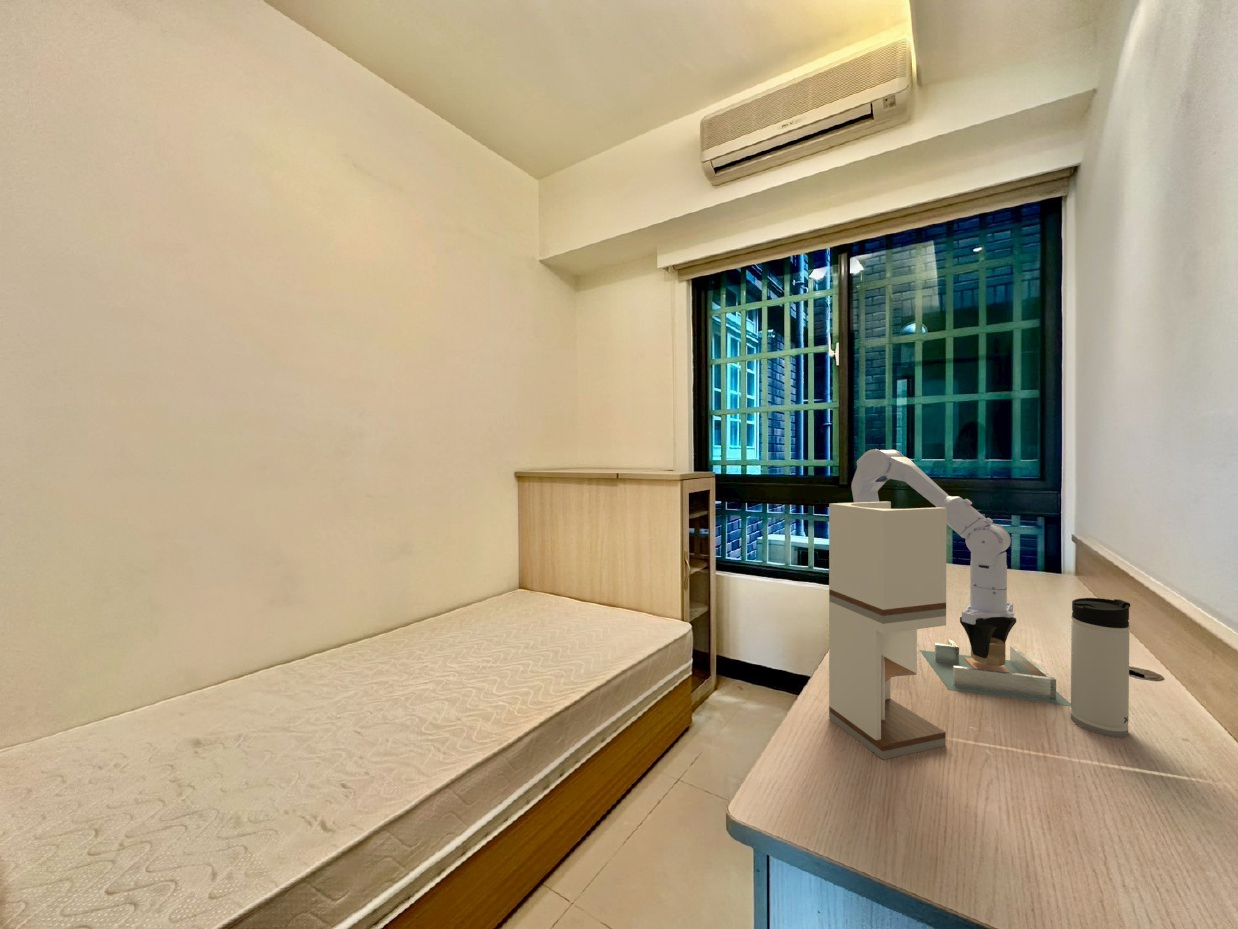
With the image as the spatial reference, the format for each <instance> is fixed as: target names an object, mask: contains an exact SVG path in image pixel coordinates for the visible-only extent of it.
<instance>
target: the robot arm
mask: <svg viewBox="0 0 1238 929" xmlns="http://www.w3.org/2000/svg"><path fill="white" fill-rule="evenodd" d="M856 466H857V467H856V471H855V473H854V475H853V479H852V481H851V492H852V493H851V494H852V498H853V503H859V502H880V498H879V493H878V492H879V490H880V489H881V488H882V487H883V485H885V483H886V482H887V481H889V480H895V481H900V482H904V483H906V484H907V485H908V486H910V487H911V488H912V489H914V490H915V491H916V492H917V493H918V494H920V495H921V496H922V497H923V498H925V499H926V500H927V501H929V503H930V504H932V505H933V506H935V508H937V507H942V508H947V526H948V527H950V528H951V530H953V531H954V532H955V533H956V534H958V536H960V537H961V538H963V539H965V541H964V542H965V544H966V545H965V546H966V547H967V548H968V550H969V551H970V568H969V569H970V570H969V571H970V572H969V573H970V574H969V575H970V578H969V580H970V584H969V590H970V591H969V592H970V594H969V597H970V598H969V600H970V601H969V604H968V605H967V607H966V608H965V610H964V611H961V617H959V623H960V624H961V626H962V627H963V629H964V631H965V633H966V635H967V637H968V641H969V645H970V649H971V648H972V652H973V655H976V656H979V657H982V658H987V656H988V652H989V645H990V640H991V637H993V638H997V639H1000V640H1002V641H1003V642H1004V643H1005V644H1006V642H1007V639H1008V636H1009V634H1010V632H1011V630H1012V628H1014V626H1015V624H1017V618H1016V617H1015V613H1014V604H1013V603H1010V602H1008V600H1007V599H1008V596H1007V595H1008V594H1007V593H1008V565H1007V552H1006V550H1007V549H1009V547H1010V546H1011V542H1012V540H1011V535H1010V533H1009V532H1008V531H1007V530H1006V529H1005V527H1004V526H1002V525H1000V524H996V523H994V520H993V519H991V518H990V517H987V518H986V517H985V516H984V515H983V514H982V513H980V512H979V511H978V510H977V509H976V508H974V507H973V506H972V504H973V502H972V501H971V500H970V499H968V498H965V499H963V498H962V497H960V496H952V495H949V494H948V493H947V492H946V491H945V490H943V489H942V487H940V486H939V485H938V484H937V483H936V482H935V481H934V480H933V479H932V478H930V477H929V476H928V475H927V474H926V473H925V472H924V471H923V470H922V469H921V468H919V467H918V466H917V465H916V464H915V463H914V462H913V461H912V460H911V459H910V458H908V457H907V456H904V454H902V452H900V451H898V450H896V449H887V450H886V449H880V450H879V449H877V448H875V449H869V450H867V451H865V452H864V453H863V454H862V456H860V457H859V458H858V460H857V461H856Z"/></svg>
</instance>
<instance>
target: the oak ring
mask: <svg viewBox="0 0 1238 929" xmlns="http://www.w3.org/2000/svg"><path fill="white" fill-rule="evenodd" d="M1006 645H1007V644H1006V642H1005V643H1004V642H1003V641H1002V640H1000V639H997V638H993V637H991V640H990V645H989V652H988V656H987V658H982V657H979V656H976V655H973V652H972V648H971V647H970V656H971V657H972V658H973V659H974V660H975V661H978V662H981V663H984V664H987V665H994V666H1002V665H1004V664H1005V660H1006Z"/></svg>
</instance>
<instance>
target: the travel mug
mask: <svg viewBox="0 0 1238 929" xmlns="http://www.w3.org/2000/svg"><path fill="white" fill-rule="evenodd" d="M1130 608H1131V603H1130V602H1128V601H1125V600H1122V599H1119V598H1118V599H1108V598H1099V597H1098V598H1097V597H1081V598H1076V599H1073V600H1072V602H1071V611H1072V613H1071V616H1070V617H1071V625H1070V626H1071V628H1070V629H1071V630H1070V632H1071V634H1070V635H1071V636H1070V637H1071V638H1070V640H1071V641H1070V642H1071V644H1070V646H1071V648H1070V660H1071V661H1070V703H1071V706H1070V720H1071V721H1072V722H1073V723H1074V724H1076V725H1077V726H1079V727H1080V728H1082V729H1085V730H1087V731H1089V732H1093V733H1094V734H1098V735H1102V736H1106V737H1110V738H1119V739H1120V738H1126V737H1128V736H1129V721H1130V720H1129V718H1130V717H1129V709H1130V708H1129V706H1130V705H1129V703H1130V702H1129V700H1130V699H1129V698H1130V696H1129V695H1130V689H1129V688H1130V631H1129V630H1130V622H1129V620H1130Z"/></svg>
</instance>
